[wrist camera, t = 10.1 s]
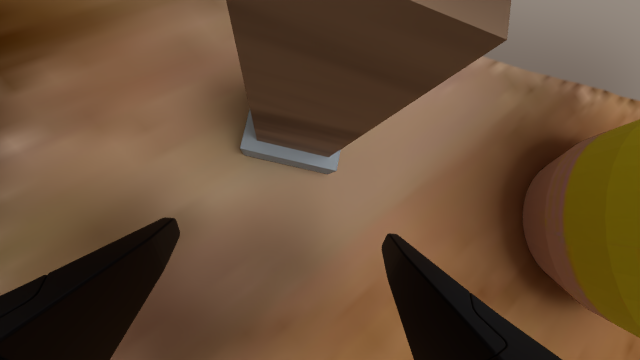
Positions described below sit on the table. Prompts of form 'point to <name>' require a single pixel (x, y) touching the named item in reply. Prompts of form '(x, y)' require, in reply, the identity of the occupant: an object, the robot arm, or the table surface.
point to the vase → (591, 224)
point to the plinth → (285, 153)
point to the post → (352, 61)
